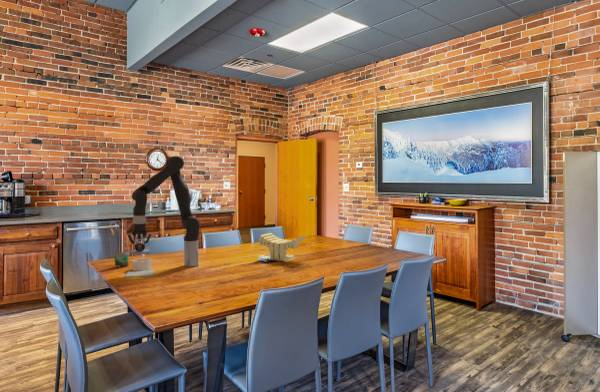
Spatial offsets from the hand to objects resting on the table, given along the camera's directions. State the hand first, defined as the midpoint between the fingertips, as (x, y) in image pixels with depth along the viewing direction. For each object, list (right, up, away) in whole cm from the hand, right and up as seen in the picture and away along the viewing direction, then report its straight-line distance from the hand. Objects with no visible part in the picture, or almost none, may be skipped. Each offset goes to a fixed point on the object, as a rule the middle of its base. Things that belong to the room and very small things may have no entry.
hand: (139, 250), depth 228 cm
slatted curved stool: (+86, -13, +42) cm, 97 cm away
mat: (0, -15, +1) cm, 15 cm away
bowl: (-4, -14, +13) cm, 20 cm away
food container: (-20, -14, +20) cm, 32 cm away
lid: (0, -2, 0) cm, 2 cm away
